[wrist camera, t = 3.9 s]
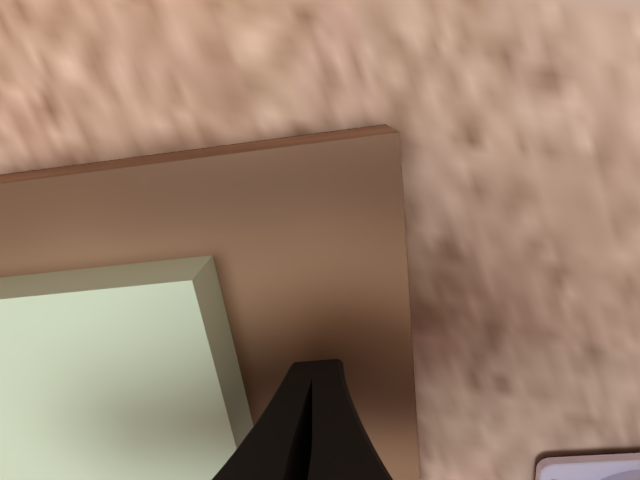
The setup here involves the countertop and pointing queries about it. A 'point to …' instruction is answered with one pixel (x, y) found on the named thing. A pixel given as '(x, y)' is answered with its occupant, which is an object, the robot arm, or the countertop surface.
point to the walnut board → (255, 254)
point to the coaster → (119, 374)
